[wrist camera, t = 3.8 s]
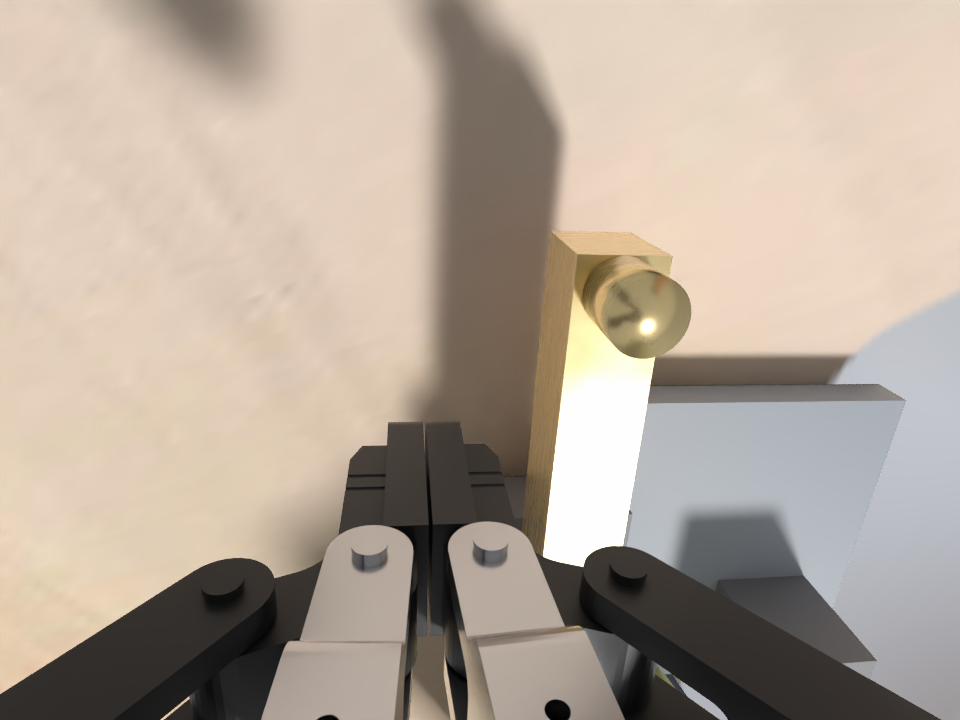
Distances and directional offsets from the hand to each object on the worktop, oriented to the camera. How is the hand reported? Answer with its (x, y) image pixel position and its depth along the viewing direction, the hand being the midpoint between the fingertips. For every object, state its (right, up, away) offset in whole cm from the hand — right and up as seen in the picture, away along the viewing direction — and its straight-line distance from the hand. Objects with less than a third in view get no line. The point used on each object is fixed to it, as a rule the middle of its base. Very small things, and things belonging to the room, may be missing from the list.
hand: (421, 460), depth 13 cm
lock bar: (+4, -1, +8) cm, 9 cm away
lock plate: (+9, -5, +14) cm, 17 cm away
